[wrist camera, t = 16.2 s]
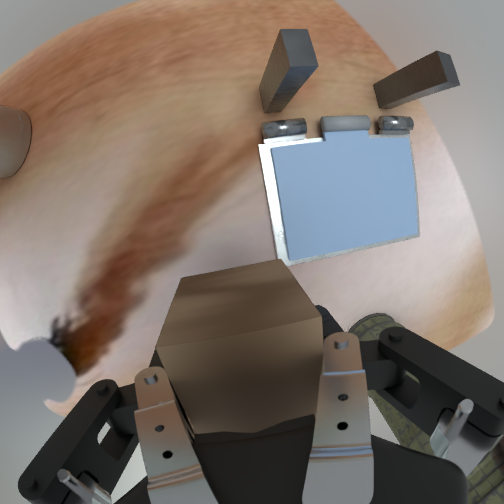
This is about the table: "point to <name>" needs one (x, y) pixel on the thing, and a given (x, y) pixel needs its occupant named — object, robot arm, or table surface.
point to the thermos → (409, 435)
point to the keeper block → (243, 348)
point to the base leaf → (293, 132)
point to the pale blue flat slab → (344, 189)
